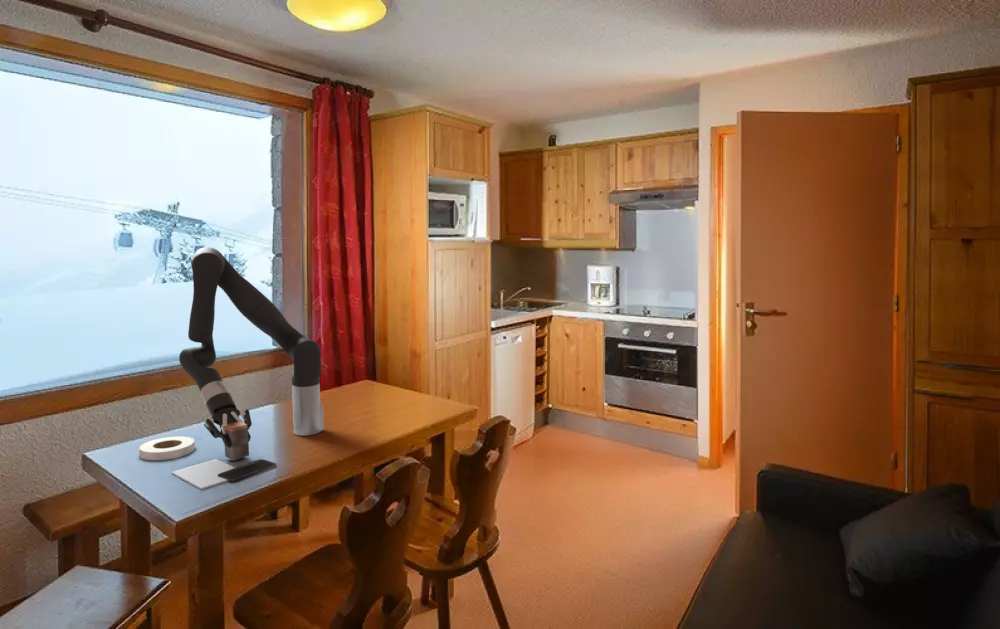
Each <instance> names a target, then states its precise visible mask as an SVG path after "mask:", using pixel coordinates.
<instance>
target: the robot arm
mask: <svg viewBox="0 0 1000 629" xmlns="http://www.w3.org/2000/svg"><path fill="white" fill-rule="evenodd" d="M190 264H191V265H190V266H191V270H192V280H193V294H192V295H193V296H192V304H191V309H190V314H189V324H188V334H187V336H188V339H189V340H190V341H191V342H194V343H200V344H201V345H200V346H193V347H186V348H183V349H182V350H181V351H180V353H179V358H178V361H179V363H180V366H181V367H182V369H183V370H184V371H185V372H186V374H188V375H189V376H190V378H192V380H193V381H194V382H195V383H196V385H197V387H198V389H199V391H200V393H201V397H202V400H203V403H204V404H205V407H206V408H207V410H208V412H209V414H210V416H211V418H207V419H206V420H205V421H204V424H203V426H204V427H205V428H206V430H207V431H208V432H209V433H210V435H211V436H212V437H213V438H214V439H217V438H220V439H221V440H222V442H223V444H224V447H225V446H226V447H227V446H228V448H230V447H231V446H232V442H231V440H230V437H229V435H228V434H227V431H226V429H225V426H227V424H230V423H234V422H242V423H245V424H247V428H248V443H249V442H250V441H251V438H252V437H251V434H250V432H249V430H250V428H251V427H252V424H253V423H252V419H251V414H250V410H249V409H245V410H244V411H240V410H239V409H238V408H237V406H236V403H235V401H234V399H233V397H232V395H231V393H230V391H229V389H228V387H227V386H226V385H225V383H224V380H223V378H222V377H221V374H220V373H219V371H218V370H217V369H216V368H213V367H212V366H213V365H214V364H215V362H216V360H217V354H216V349H215V345H214V338H213V336H214V335H213V333H214V328H215V326H214V324H215V312H216V311H215V310H216V309H215V305H216V295H217V291H218V287H219V288H220V289H221V290H222V291H223V292H224V293H225V295H226V296H227V297H228V298H229V300H230V302H232V304H233V305H234V307H235V308H236V309H237V311H238V312H239V313H240V314H241V315H242V316H243V317H244V318H245V319H246V320H248V321H249V322H250V323H251V324H252V325H254V327H256V328H257V329H258V330H260V331H261V332H263V333H264V334H265V335H267V336H269V337H270V338H271V339H272V340H274V342H275V343H277V344H278V345H279V347H280V348H282V350H283V351H284V352H285V353H286V354H287V356H289V357H290V359H291V360H292V361H293V375H292V377H291V393H292V394H291V397H292V419H293V423H292V424H293V434H294V435H296V436H302V437H303V436H312V435H317V434H319V433H320V432H322V431H324V430H325V428H324V426H325V425H324V405H323V403H322V402H321V388H320V386H321V384H320V379H321V375H322V353H321V352H322V351H321V347H320V345H319V344H318V343H317V342H316V341H315V340H312V339H311V338H308V337H306V335H303V334H302V333H301V332H299V331H298V330H297V329H296V328H294V327H293V326H292V325H291V324H290V323H289V322H288V321H287V319H286V318H285V316H284V315H283V314H282V312H281V311H280V310H279V308H278V307H277V306H276V305H275V304H274V303H273V302H272V301H271V300H270V299H269V298H268V297H267V296H266V295H265V294H263V293H262V292H261V291H260V290H259V289H258V288H257V287H256V286H254V285H253V284H252V283H251V282H249V281H248V280H247V279H246V278H244V277H243V276H242V275H241V274H240V273H239V272H238V271H237V270H236V269H235V267H233V265H232V264H231V263H230V262H229V261H228V260H227V258H226V257H225V256H224V255H223V253H222V252H220V251H219V250H217V249H215V247H214V248H213V247H209V246H203V247H200V248H199V249H197V250H196V251H195V253H194V255H193V256H192V260H191V263H190ZM215 424H216V425H218V427H217V426H216V425H215ZM218 428H219V429H218Z"/></svg>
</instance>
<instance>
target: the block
mask: <svg viewBox="0 0 1000 629" xmlns="http://www.w3.org/2000/svg"><path fill="white" fill-rule="evenodd" d="M225 429H226V431H227V434H228V435H229V437H230V440H231V442H232V446H231V447H230V448H228V446H227V447H226V446H225V445H224V456H225V457H226V458H228V459H230V460H231V461H236V460H240V459H243V458H245V457H249V456H250V449H249V448H250V447H249V442H248V432H249V430H248V428H247V424H245V423H244V422H243V423H242V422H234V423H230V424H227V426H225Z"/></svg>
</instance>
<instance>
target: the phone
mask: <svg viewBox="0 0 1000 629" xmlns="http://www.w3.org/2000/svg"><path fill="white" fill-rule="evenodd" d="M276 467H277V463H275V462H273V461H270V460H266V459H263V458H262V459H261V458H260V459H256V460H254V461H251V462H248V463H245V464H242V465H239V466H237V467H234V469H231V470H228V471H225V472H222V473H220V474H218V475H217V476H218V477H221V478H224V479H226V480H227V482H226V483H231V484H234V483H235V484H236V483H239V482H240V481H243V480H245V479H248V478H251V477H254V476H257V475H259V474H262V473H264V472H266V471H269V470H272V469H274V468H276Z"/></svg>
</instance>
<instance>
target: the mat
mask: <svg viewBox="0 0 1000 629" xmlns="http://www.w3.org/2000/svg"><path fill="white" fill-rule="evenodd" d="M234 468H235V467H234V466H232V465H230V464H227V463H225V462H224V461H221V460H219V459H218V458H214V459H212V460H207V461H205V462H204V461H203V462H201V463H197V464H195V465H191V466H187V467H183V468H181V469H177V470H173V471H171V475H174V476H175V477H177V478H179V479H181V480H183V481H184V482H186V483H187V484H190V485H192V486H194V487H195V488H197V489H199V490H200V491H202V490H205V489H208V488H211V487H215V486H218V485H221V484H224V483H228V482H227V480H226V479H224V478H221V477H218V476H217V475H218V474H220V473H222V472H225V471H228V470H231V469H234Z"/></svg>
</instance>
